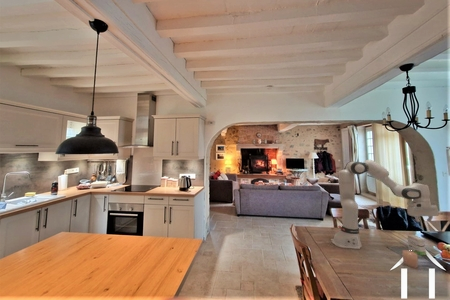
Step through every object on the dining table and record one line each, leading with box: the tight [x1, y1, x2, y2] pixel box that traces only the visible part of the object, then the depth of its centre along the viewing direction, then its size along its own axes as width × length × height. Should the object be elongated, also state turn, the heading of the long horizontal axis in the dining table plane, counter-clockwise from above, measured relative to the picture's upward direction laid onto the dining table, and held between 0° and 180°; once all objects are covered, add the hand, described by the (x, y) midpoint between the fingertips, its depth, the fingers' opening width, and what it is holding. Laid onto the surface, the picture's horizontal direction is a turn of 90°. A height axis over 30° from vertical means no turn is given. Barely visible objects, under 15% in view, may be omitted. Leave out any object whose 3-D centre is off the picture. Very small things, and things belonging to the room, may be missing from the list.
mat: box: [386, 246, 425, 259], centre depth 136 cm, size 13×16×1 cm
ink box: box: [407, 234, 427, 256], centre depth 136 cm, size 9×5×12 cm, turn 178°
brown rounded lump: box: [402, 249, 419, 269], centre depth 121 cm, size 7×7×8 cm
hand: (423, 221), depth 136 cm, fingers open, 7 cm apart
